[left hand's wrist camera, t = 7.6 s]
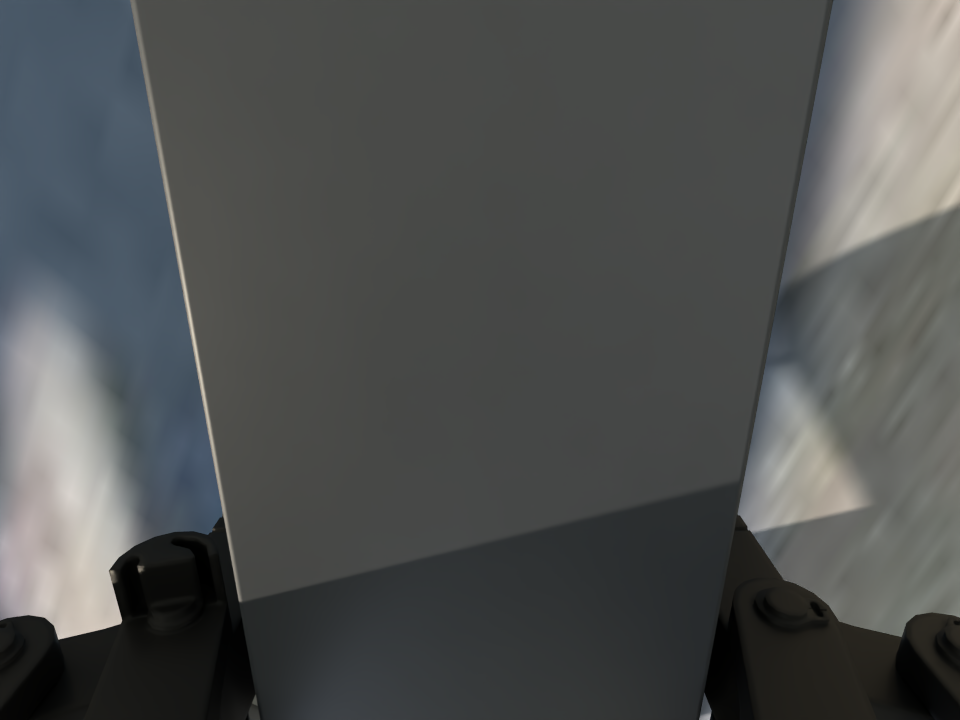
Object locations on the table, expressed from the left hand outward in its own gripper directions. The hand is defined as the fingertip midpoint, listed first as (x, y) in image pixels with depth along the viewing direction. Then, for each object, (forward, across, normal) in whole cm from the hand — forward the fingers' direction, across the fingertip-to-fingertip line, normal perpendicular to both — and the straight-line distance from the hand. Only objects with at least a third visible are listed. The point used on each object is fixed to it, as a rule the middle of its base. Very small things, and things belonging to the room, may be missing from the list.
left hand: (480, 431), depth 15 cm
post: (0, 0, -34) cm, 34 cm away
